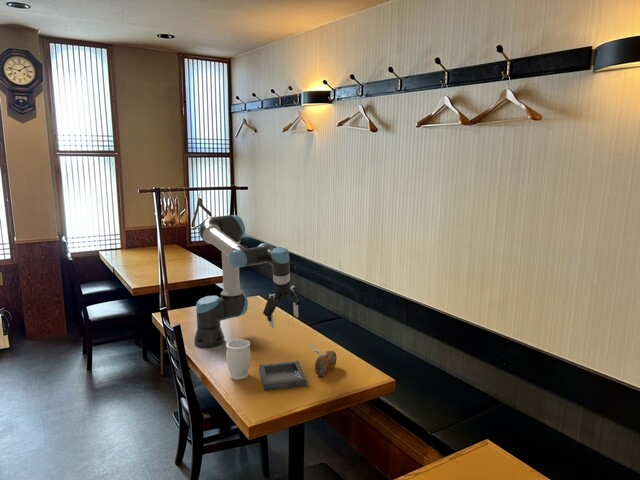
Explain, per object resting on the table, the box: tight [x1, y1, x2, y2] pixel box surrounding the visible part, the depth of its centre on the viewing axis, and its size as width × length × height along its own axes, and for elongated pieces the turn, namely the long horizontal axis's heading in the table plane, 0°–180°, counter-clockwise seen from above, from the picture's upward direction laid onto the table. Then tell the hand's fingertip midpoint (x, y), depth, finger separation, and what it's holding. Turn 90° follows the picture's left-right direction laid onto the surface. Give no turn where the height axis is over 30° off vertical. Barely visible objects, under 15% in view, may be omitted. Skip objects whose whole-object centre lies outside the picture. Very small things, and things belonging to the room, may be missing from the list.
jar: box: [225, 338, 252, 381], centre depth 200 cm, size 11×10×15 cm
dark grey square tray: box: [258, 360, 308, 392], centre depth 198 cm, size 18×18×3 cm
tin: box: [314, 350, 337, 377], centre depth 205 cm, size 15×3×8 cm, turn 148°
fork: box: [308, 342, 323, 356], centre depth 223 cm, size 3×24×2 cm, turn 24°
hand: (284, 321), depth 213 cm, fingers open, 13 cm apart
